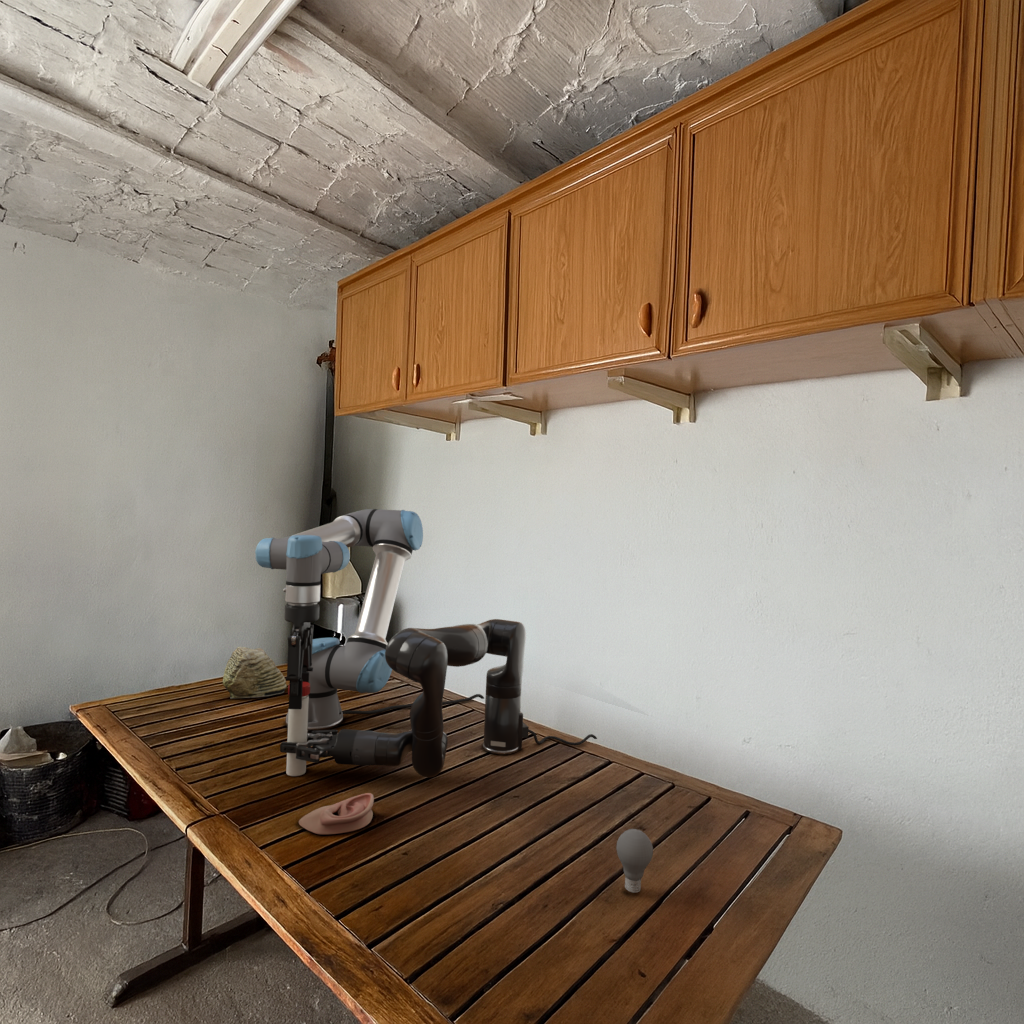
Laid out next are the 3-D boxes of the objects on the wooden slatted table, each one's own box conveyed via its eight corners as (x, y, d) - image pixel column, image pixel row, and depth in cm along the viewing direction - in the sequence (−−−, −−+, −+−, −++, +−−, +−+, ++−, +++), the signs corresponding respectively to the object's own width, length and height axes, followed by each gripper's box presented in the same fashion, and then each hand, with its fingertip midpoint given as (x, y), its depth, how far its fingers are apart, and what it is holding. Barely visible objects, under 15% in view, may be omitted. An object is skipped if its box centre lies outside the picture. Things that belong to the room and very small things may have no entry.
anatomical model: (290, 809, 120) (320, 783, 131) (289, 830, 120) (320, 802, 131) (355, 819, 117) (381, 791, 128) (355, 840, 117) (380, 811, 128)
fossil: (218, 695, 195) (220, 647, 195) (278, 685, 208) (279, 640, 207) (228, 703, 189) (230, 653, 188) (289, 692, 201) (290, 645, 201)
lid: (312, 695, 144) (312, 685, 144) (290, 698, 141) (291, 688, 141) (306, 689, 148) (307, 680, 148) (285, 692, 145) (285, 682, 145)
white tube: (304, 767, 148) (307, 684, 147) (306, 774, 144) (310, 690, 144) (285, 769, 146) (288, 686, 146) (287, 777, 142) (290, 691, 142)
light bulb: (610, 879, 108) (613, 822, 108) (644, 879, 109) (647, 822, 109) (619, 902, 102) (622, 840, 102) (655, 901, 103) (658, 840, 103)
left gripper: (296, 596, 153) (292, 691, 154) (273, 609, 135) (269, 717, 135) (327, 597, 154) (324, 692, 154) (309, 610, 135) (305, 718, 136)
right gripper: (368, 720, 151) (297, 716, 152) (350, 743, 137) (272, 738, 138) (366, 751, 151) (296, 747, 152) (348, 777, 137) (271, 772, 138)
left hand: (298, 704), depth 145 cm, fingers open, 5 cm apart
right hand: (285, 742), depth 145 cm, fingers closed on white tube, 4 cm apart
